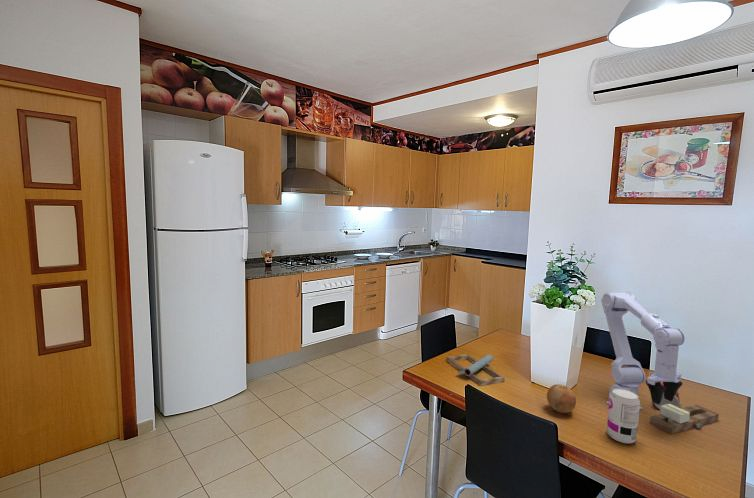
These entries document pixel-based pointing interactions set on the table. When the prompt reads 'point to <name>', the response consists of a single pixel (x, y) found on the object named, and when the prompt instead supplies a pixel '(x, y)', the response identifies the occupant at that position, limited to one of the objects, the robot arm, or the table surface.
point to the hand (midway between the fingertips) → (662, 401)
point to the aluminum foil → (477, 365)
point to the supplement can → (623, 415)
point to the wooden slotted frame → (696, 420)
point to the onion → (561, 398)
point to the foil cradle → (497, 376)
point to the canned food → (674, 402)
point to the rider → (674, 413)
